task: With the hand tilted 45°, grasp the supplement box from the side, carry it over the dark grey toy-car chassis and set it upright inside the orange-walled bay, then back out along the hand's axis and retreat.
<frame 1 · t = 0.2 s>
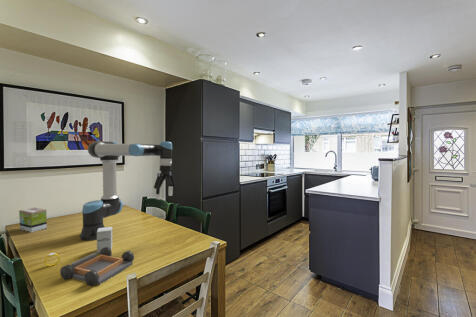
hand: (164, 197, 151), 27 cm above the table, tool pointing down, fingers open, 13 cm apart
supplement box: (104, 250, 134), on the table
toy car chassis: (99, 270, 112), on the table
watch: (52, 265, 117), on the table
tea box: (33, 229, 170), on the table
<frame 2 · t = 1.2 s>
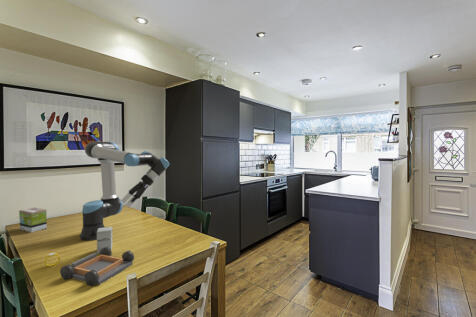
hand: (124, 204, 140), 26 cm above the table, tool tilted 45°, fingers open, 13 cm apart
nothing on the table moved.
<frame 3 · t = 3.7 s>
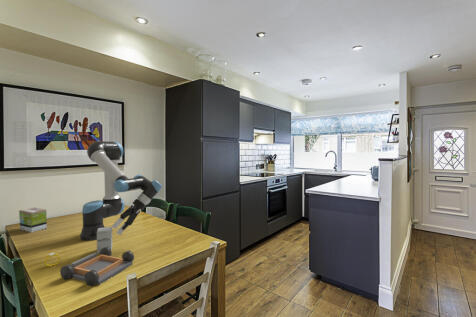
hand: (115, 230, 136), 11 cm above the table, tool tilted 45°, fingers open, 13 cm apart
nothing on the table moved.
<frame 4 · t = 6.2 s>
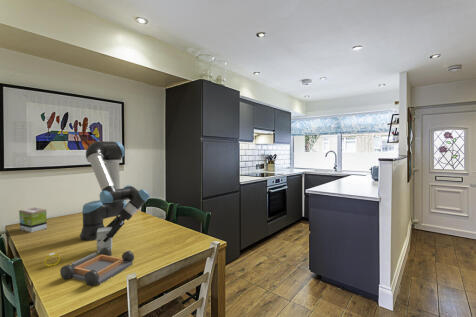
hand: (98, 243, 132), 5 cm above the table, tool tilted 45°, fingers closed on supplement box, 8 cm apart
supplement box: (104, 250, 134), on the table, touching gripper
everything else where it was.
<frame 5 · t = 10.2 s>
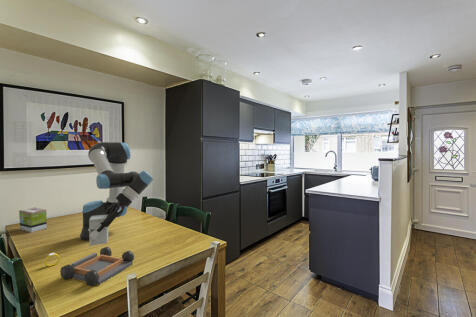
hand: (91, 234, 109), 18 cm above the table, tool tilted 45°, fingers closed on supplement box, 8 cm apart
supplement box: (99, 242, 112), point 14 cm above the table, touching gripper
everything else where it was.
when the fingers open (8 cm above the table, at t = 14.4 s): supplement box drops 2 cm, resting on toy car chassis.
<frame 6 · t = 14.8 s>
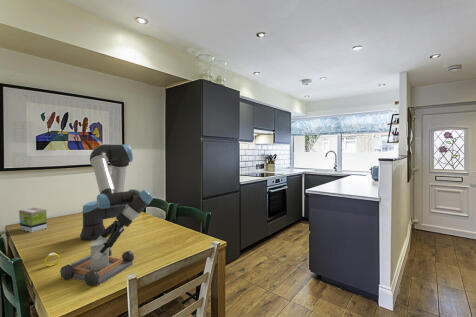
hand: (93, 253, 110), 9 cm above the table, tool tilted 45°, fingers open, 13 cm apart
supplement box: (100, 267, 112), point 1 cm above the table, touching toy car chassis
everything else where it was.
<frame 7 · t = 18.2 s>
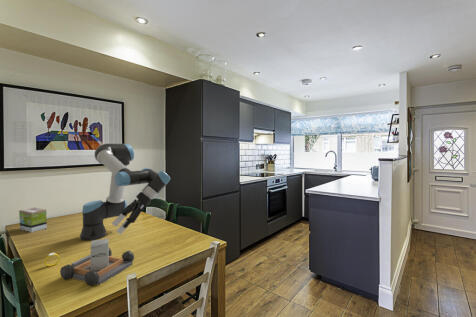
hand: (115, 228, 116), 19 cm above the table, tool tilted 45°, fingers open, 13 cm apart
nothing on the table moved.
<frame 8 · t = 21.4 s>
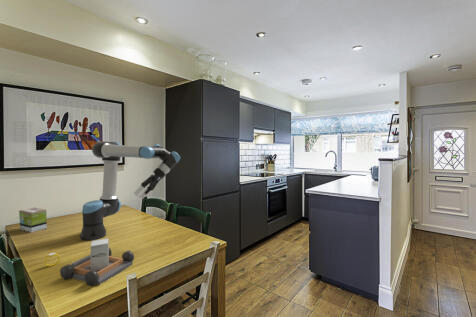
hand: (137, 196, 144), 30 cm above the table, tool tilted 45°, fingers open, 13 cm apart
nothing on the table moved.
at the end: supplement box inside the target area on the toy car chassis (0.4 cm from its centre), point 1.3 cm above the toy car chassis's base; supplement box tilted 0°; the gripper is holding nothing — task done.
